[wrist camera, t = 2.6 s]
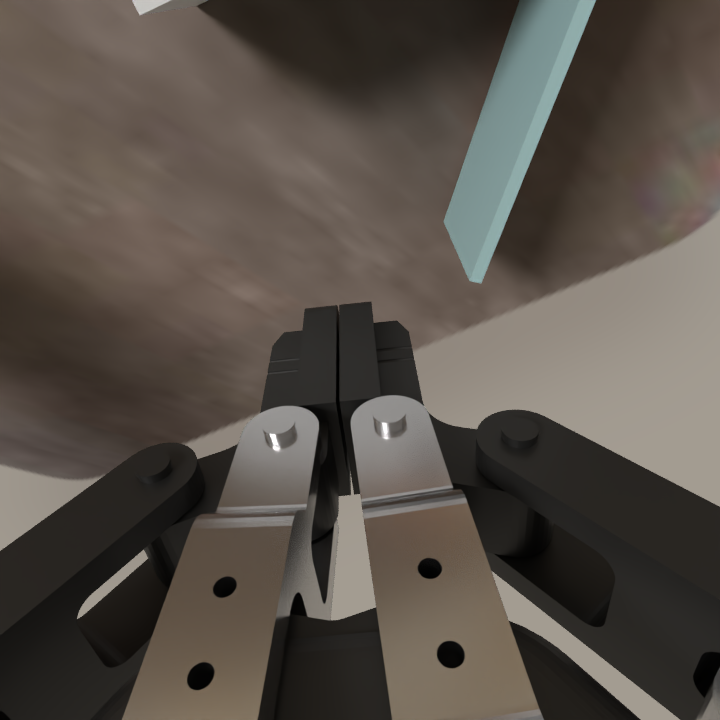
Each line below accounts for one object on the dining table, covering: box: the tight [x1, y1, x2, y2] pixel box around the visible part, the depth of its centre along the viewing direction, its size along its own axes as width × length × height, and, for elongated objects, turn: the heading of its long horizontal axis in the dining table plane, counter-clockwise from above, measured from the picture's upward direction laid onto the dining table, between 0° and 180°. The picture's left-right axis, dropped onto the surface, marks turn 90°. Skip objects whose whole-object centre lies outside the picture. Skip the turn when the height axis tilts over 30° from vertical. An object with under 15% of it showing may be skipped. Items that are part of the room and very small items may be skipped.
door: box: [444, 0, 596, 283], centre depth 22 cm, size 15×1×7 cm, turn 166°
